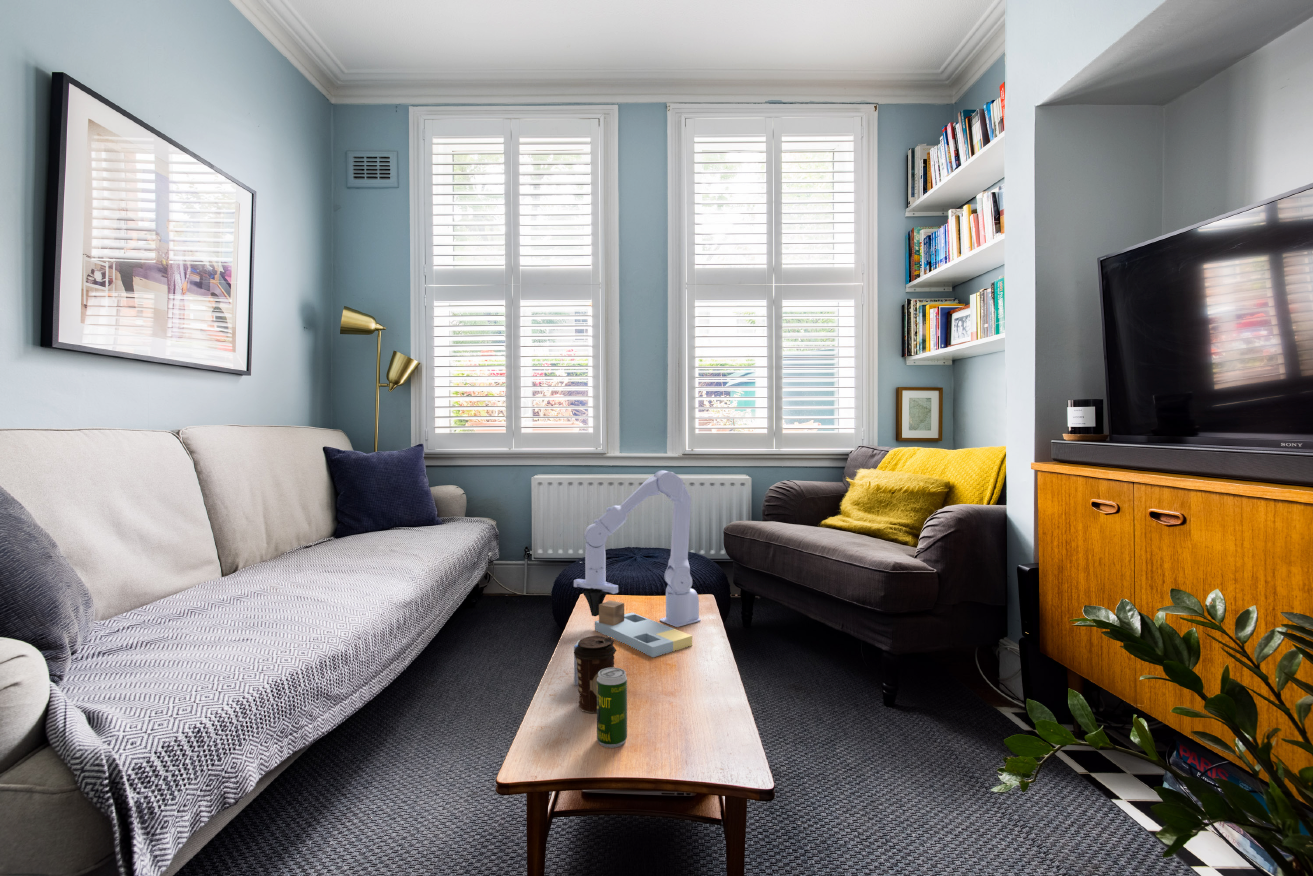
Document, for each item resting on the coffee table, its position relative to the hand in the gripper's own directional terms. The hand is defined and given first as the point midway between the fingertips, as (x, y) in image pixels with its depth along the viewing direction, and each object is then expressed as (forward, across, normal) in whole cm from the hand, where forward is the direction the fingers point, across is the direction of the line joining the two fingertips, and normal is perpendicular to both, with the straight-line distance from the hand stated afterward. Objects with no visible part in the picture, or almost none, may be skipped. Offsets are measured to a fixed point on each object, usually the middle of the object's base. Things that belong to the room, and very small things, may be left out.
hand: (595, 615), depth 165 cm
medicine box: (+4, +23, -29) cm, 37 cm away
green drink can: (+4, +41, -47) cm, 63 cm away
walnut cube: (+1, +6, 0) cm, 6 cm away
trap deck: (+3, +16, 0) cm, 16 cm away
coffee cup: (+4, +30, -38) cm, 49 cm away
